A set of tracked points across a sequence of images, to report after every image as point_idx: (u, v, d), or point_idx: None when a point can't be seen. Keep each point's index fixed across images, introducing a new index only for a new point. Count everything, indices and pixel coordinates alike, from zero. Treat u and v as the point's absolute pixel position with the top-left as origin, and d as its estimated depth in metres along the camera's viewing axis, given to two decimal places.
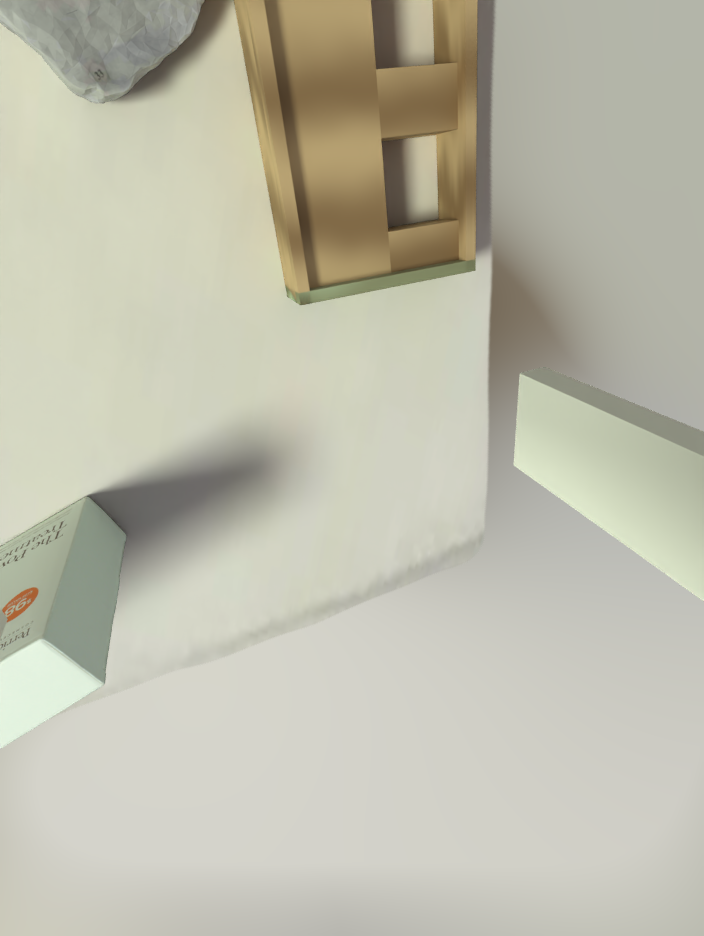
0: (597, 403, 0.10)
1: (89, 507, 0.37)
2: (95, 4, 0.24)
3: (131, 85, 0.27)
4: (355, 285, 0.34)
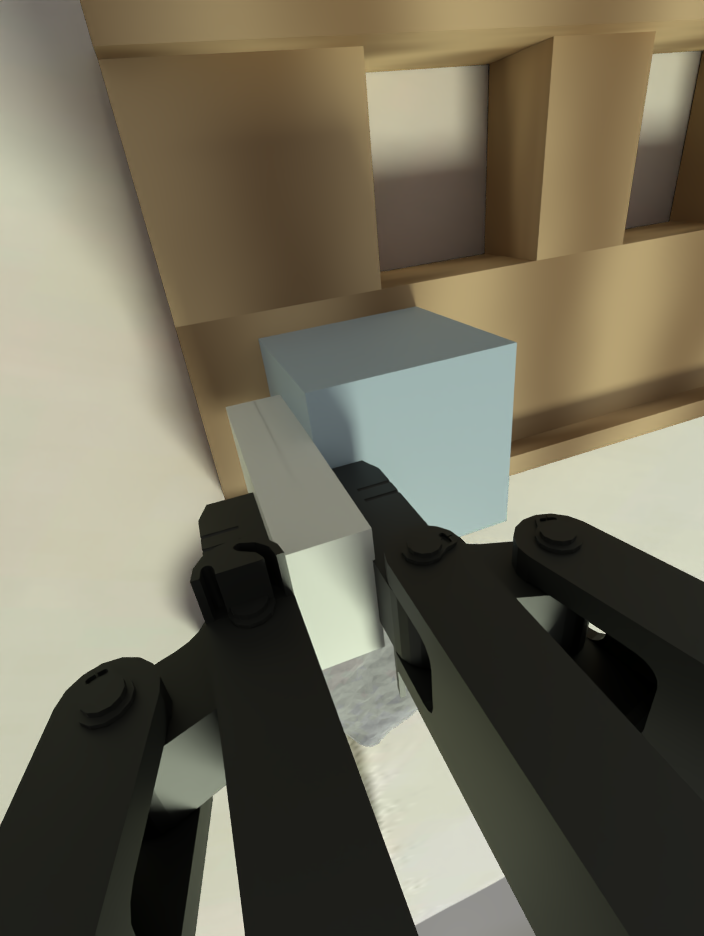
0: (279, 434, 0.11)
1: None
2: None
3: None
4: None
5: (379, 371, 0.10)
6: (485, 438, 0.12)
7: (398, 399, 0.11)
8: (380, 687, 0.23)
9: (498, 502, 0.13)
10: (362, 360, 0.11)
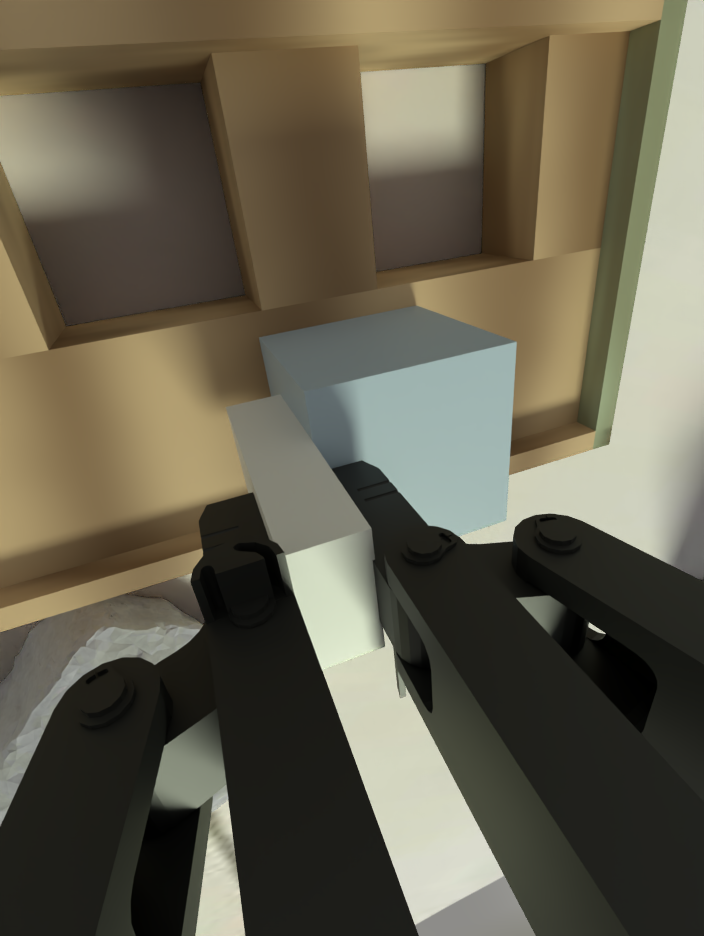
0: (279, 434, 0.11)
1: None
2: None
3: None
4: (613, 346, 0.17)
5: (378, 370, 0.10)
6: (485, 437, 0.12)
7: (398, 397, 0.11)
8: None
9: (497, 501, 0.13)
10: (362, 359, 0.11)
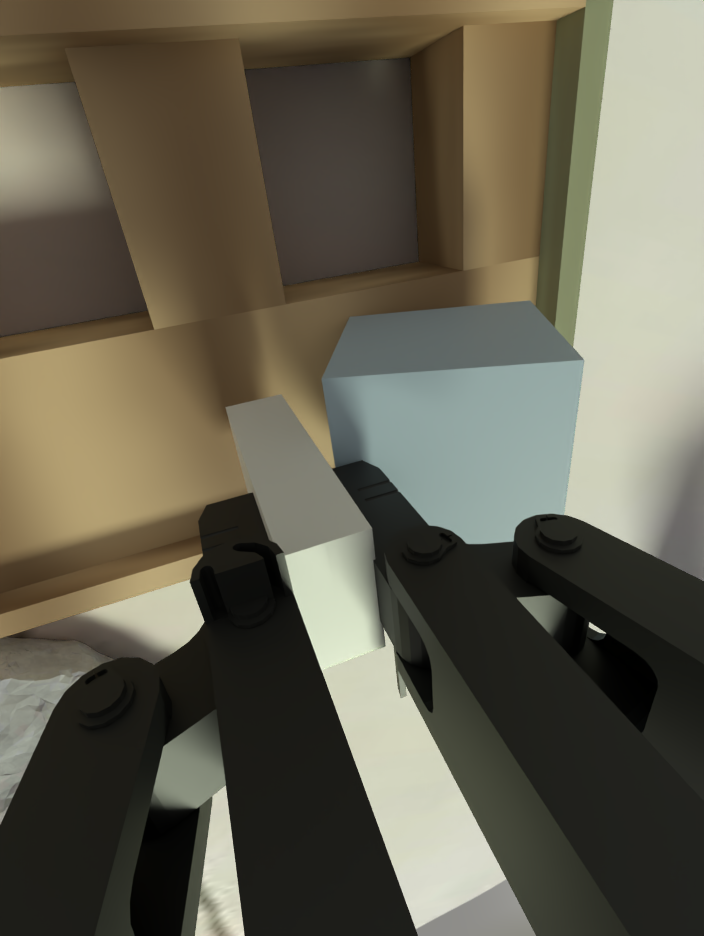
0: (279, 434, 0.11)
1: None
2: None
3: None
4: None
5: (407, 368, 0.10)
6: (533, 464, 0.10)
7: (423, 401, 0.10)
8: None
9: None
10: (406, 353, 0.11)
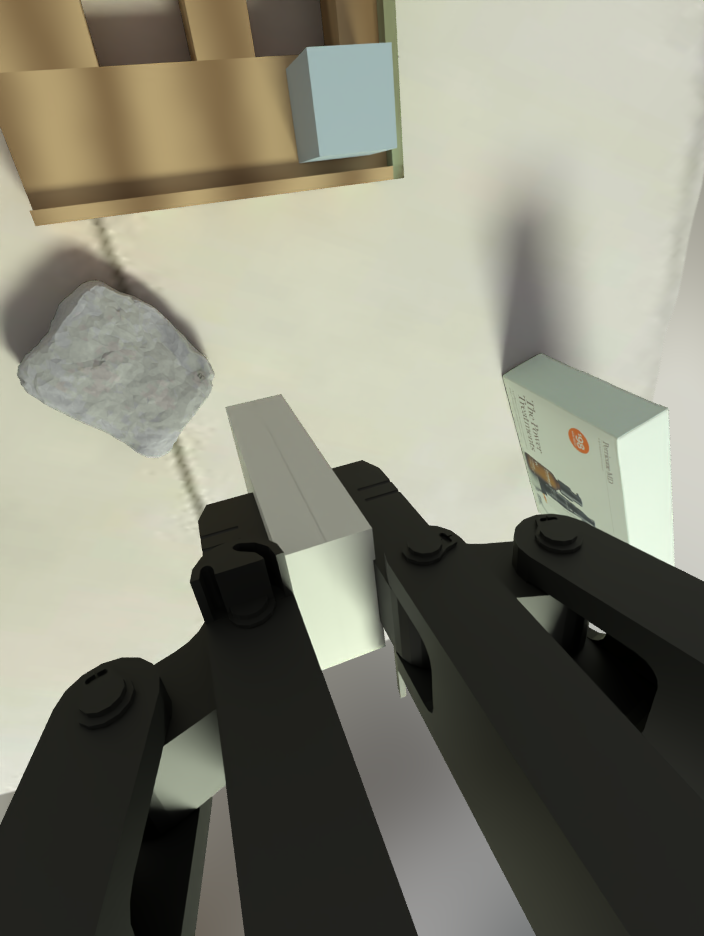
0: (279, 434, 0.11)
1: (513, 376, 0.49)
2: (161, 376, 0.36)
3: (201, 355, 0.37)
4: None
5: None
6: (382, 92, 0.28)
7: (343, 59, 0.27)
8: (139, 405, 0.36)
9: (391, 134, 0.29)
10: None
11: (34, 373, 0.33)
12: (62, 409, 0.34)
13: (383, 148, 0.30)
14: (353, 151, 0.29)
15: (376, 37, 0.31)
